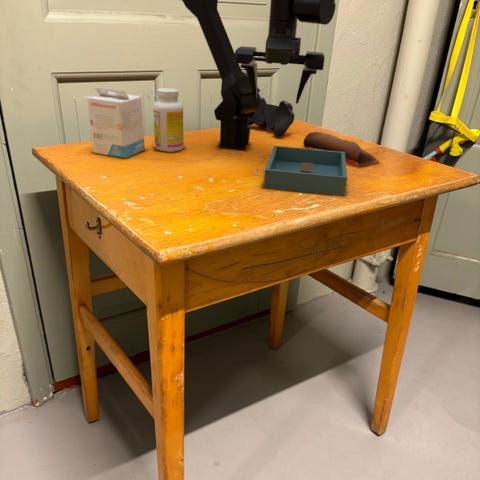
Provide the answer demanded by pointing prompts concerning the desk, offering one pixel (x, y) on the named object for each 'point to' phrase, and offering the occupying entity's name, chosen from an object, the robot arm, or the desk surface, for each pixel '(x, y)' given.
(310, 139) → the sunglasses case
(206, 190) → the desk surface
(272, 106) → the game controller
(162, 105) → the supplement bottle
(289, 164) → the cutlery tray
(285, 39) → the robot arm
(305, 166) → the brown and grey bar
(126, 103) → the ink box
